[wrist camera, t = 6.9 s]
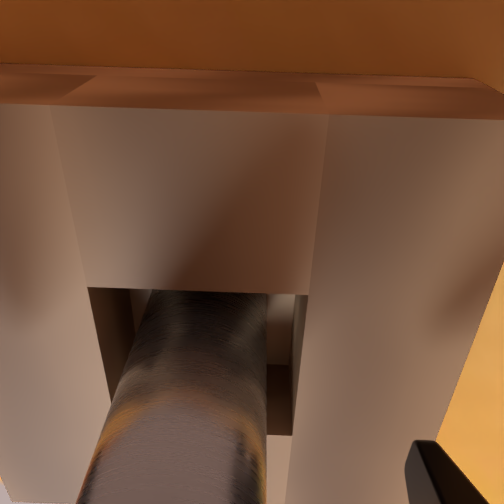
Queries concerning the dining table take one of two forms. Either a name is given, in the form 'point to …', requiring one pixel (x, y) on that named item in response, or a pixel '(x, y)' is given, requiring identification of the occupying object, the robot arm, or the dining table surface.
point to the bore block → (246, 255)
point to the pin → (188, 406)
